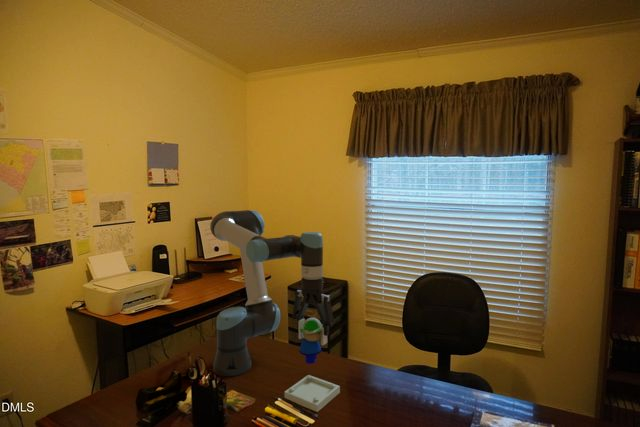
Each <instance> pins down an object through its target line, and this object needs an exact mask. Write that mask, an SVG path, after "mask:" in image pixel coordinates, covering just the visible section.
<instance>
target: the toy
mask: <svg viewBox="0 0 640 427" xmlns="http://www.w3.org/2000/svg"><path fill="white" fill-rule="evenodd" d="M322 325H323V324H322V322H321V320H319V319H318V318H316V317H309V318H307V319H305V322H304V324H303V327H301V328H300V332H302V333H303V336H304V339H302V341H301V344H300V346H299V349H300V350H299V353H300V355H302V356H305V363H306V364H309V365H310V364H311V365H312V364H315V362H316V360H317V359H318V355H319V354H321V353H322V347H321V343H319V340H321V335H322V330H321V326H322Z"/></svg>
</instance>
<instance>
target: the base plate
mask: <svg viewBox="0 0 640 427" xmlns="http://www.w3.org/2000/svg"><path fill="white" fill-rule="evenodd" d="M340 393H341V386H340V385H338V384H335V383H333V382H329V381H327V380H324V379H321V378H319V377H316V376H312V375H311V374H308V375H306V376H304V377H303V378H302V379H300V380H299V381H297V382H296V383H295V384H293V385H292V386H291V387H289V388H288V389H286V390H285V391H284V399H286V400H288V401H290V402H293V403H296V404H297V405H299V406H301V407H304V408H306V409H309V410H312V411H314V412H317V413H318V412H319V411H321V410H322V409H323V408H324V407H325V406H326V405H327V404H329V403H330V402H331V401H332V400H333V399H334V398H336V396H338V395H339V394H340Z"/></svg>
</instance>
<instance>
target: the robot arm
mask: <svg viewBox="0 0 640 427" xmlns="http://www.w3.org/2000/svg"><path fill="white" fill-rule="evenodd" d="M264 232H265V221H264V219H263V216H262V214H261V213H260V212H258V211H257V210H251V209H246V210H245V209H244V210H231V211H227V210H226V211H222V212H219V213H217V214H216V215H215V216H214V217H213V218H212V220H211V222H210V233H211V234H212V235H213V237H215V238H216V239H218V240H219V241H222V242H225V241H226V242H227V243H230V244H231V245H234V246H236V248H239V253H240V258H241V265H242V270H243V277H244V284H245V291H246V295H247V296H246V297H247V301H246V303H245V304H244V306H245V307H244V306H232V307H228V308H226V309H224V310H221V311H220V312H219V314H217V317H216V324H215V327H216V353H215V358H214V360H213V362H212V370H213V372H214V374H216V375H218V376H221V377H234V376H235V377H236V376H239V375H242V374H244V373H247V372H248V371H249V370H250V369H252V368H251V367H252V357H251V356H250V352H249V350H248V347H247V346H248V345H247V343H248V342H247V340H248V339H251V338H254V337H258V336H261V335H266V334H270V333H271V332H274V331H276V330H277V329H278V327H279V325H280V323H281V322H280V321H281V311H280V307H278V306H279V305H277V304H276V303H274V302H273V299H272V298H271V297H270V296H269V294H268V290H267V283H266V278H265V272H264V265H263V262H268V261H273V260H279V259H280V260H281V259H287V258H300V266H301V269H300V270H301V271H300V272H301V275H300V276H301V279H300V280H301V281H300V282H301V289H297V290H295V291H294V302H293V308H292V313H291V317H292V318H295V320H296V328H297V329H298V339H299V340H303V338H304V336H303V333H302V332H300V328H301V327H303V324H304V322H305V321H306V319H305V314H306V311H307V309H308V307H309V304H311V305H313V306H314V308H316V310H317V314H318V316H319V319H320V323H321V324H323V325H322V326H321V330H322V335H321V338H320V346H325V345H326V344H327V343H328V335H330V326H332V325H334V324H335V320H334V314H333V313H334V312H333V309H332V304H331V303H332V302H331V298H332V296H331V295H330V294H324V291H323V289H324V278H323V277H324V262H323V261H324V260H323V259H324V240H323V234H321V232H318V231H305V232H303V233H301V234H300V236H299V235H294V234H290V235H289V234H287V235H284V236H281V237H270V238H267V237H264V236H262V235H263V234H264ZM304 339H305V338H304Z"/></svg>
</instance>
